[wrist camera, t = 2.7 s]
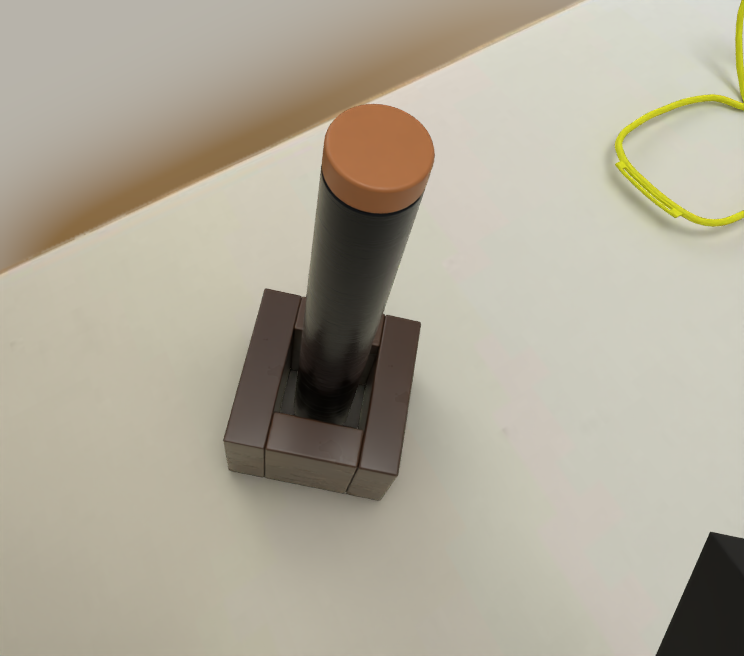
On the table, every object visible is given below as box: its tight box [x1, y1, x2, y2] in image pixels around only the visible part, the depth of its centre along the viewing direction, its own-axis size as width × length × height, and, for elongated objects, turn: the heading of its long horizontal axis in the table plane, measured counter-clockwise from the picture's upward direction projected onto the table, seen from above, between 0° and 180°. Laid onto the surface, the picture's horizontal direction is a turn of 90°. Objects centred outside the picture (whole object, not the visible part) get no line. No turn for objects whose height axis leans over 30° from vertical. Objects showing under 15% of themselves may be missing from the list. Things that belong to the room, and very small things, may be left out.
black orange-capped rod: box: [294, 104, 435, 425], centre depth 21 cm, size 2×2×16 cm
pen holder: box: [223, 289, 421, 500], centre depth 26 cm, size 6×6×4 cm
